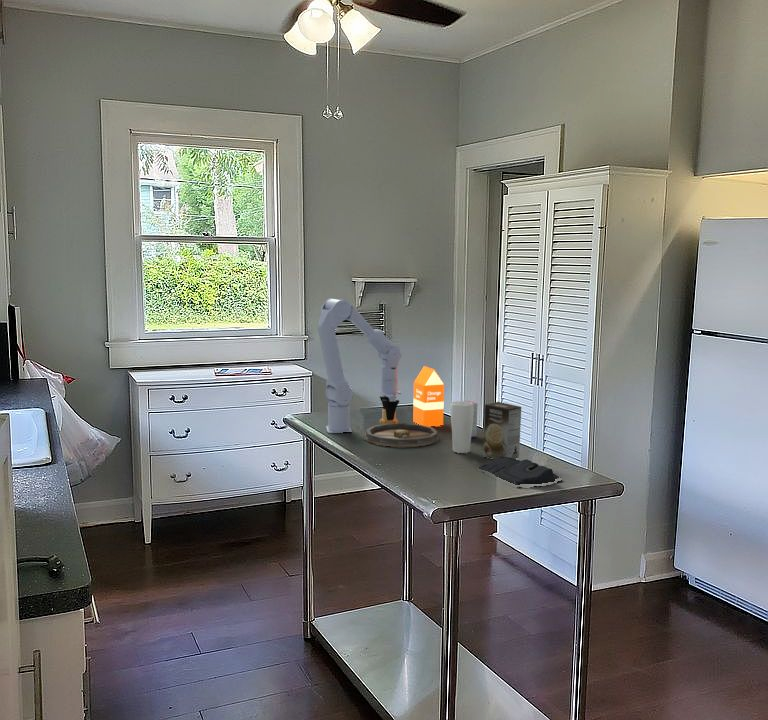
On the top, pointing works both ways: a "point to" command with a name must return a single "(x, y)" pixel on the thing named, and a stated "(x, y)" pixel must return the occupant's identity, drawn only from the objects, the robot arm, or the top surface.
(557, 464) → the top surface
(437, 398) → the orange juice
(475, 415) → the supplement box
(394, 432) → the wooden tray
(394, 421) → the planet gear
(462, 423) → the drinking glass
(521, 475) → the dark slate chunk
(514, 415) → the coffee box
